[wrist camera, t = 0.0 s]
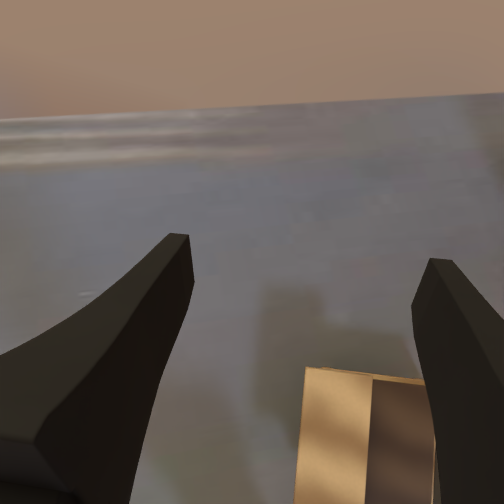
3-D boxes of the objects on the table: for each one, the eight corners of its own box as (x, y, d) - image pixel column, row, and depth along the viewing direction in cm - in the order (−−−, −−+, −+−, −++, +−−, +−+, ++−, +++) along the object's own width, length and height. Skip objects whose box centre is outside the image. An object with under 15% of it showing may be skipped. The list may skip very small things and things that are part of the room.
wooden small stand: (419, 503, 40) (444, 538, 34) (291, 483, 41) (292, 514, 35) (426, 375, 42) (451, 385, 36) (303, 359, 43) (305, 367, 37)
